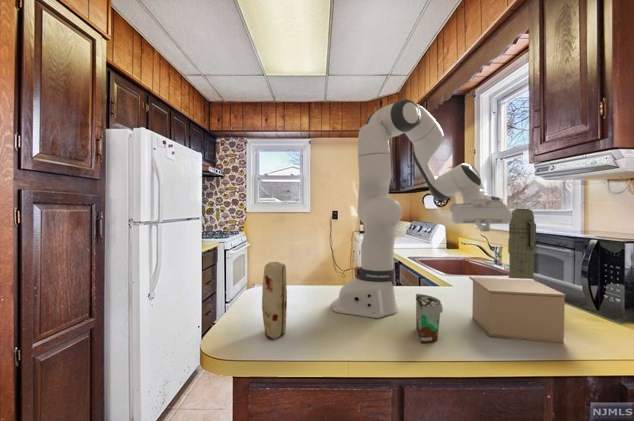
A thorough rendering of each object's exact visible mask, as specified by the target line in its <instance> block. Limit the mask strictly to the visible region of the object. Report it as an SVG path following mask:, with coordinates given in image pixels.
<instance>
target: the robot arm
mask: <svg viewBox="0 0 634 421" xmlns="http://www.w3.org/2000/svg"><path fill="white" fill-rule="evenodd" d="M402 134H405V135H406V137H407V139H409V141H411V143H412V145H413V151H412V158H413V161H414V162H415V165H416V167H417V168H418V171H419V173H420V174H421V177H423V179H424V181H425V183H426V185H427V187H428V189H429V191H430V194H431V196H432V198H434V200H438V201H441V202H444V201H447V200H449V199H450V198H452V197H453V196H456V195H457V194H459V193H460V195H461V198H462V203H452V204H451V205H449V210H450V212H451V219H452V222H453V223H454V224H455V225H456V224H462V225H463V224H466V225H467V224H468V225H469V224H470V225H475V226H476V228H478V229H479V231H480V233H481V232H489V233H490V231H491V225H492V224H494V225H500V224H501V225H503V224H505V225H509V223H510V221H511V219H512V212H511V210H510V208H509V206H508V205H507V204H506V203H504V199H503V198H502V197H501V196H500V197H499V196H497V195H496V196H494V195H490V194H488V193H486V192H485V187H484V185H483V183H482V177H481V176H480V174H479V172H478V170H477V169H476V168H475V167H474V166H473V165H472V164H468V163H461V164H458V165H456V166H455V167H453V168H452V169H450V170H448V171H446V172H444V173H443V174H440V175H437V176H436V175H435V173H434V171H433V168H432V167H431V166H430V164H429V162H430V160H431V158H432V157H433V156H434V155H435V154H436V152H437V151H438V149H439V148H440V147H441V145H442V142H443V139H444V132H443V129H442V127H441V125H440V124H439V123H438V122H437V121H436V119H435V118H434V117H433V115H431V113H430V112H428V110H426V109H425V108H424V107H423V106H421V104H418V103H416V102H415V101H414V100H412V99H406V98H403V99H400V100H396V102H393V103H391V104H390V103H389V104H388V105H385V106H383V107H381V108H379V109H378V110H376V111H375V112H373V113H371V114H370V115H369V116H368V118H367V119H366V121H365V124H364V125H363V126H362V127H361V128H360V129H359V131H358V136H357V162H358V163H357V164H358V166H357V167H358V192H357V193H358V195H357V210H356V212H357V217H358V218H359V220H360V222H361V223H362V224H364V231H363V232H364V233H363V238H362V241H361V245H360V266H358V265H356V266H354V269H353V270H354V278H352V279H351V280H350V281H348V282H347V283H345V284H344V285H343V286H342V287H341V288H340V290H339V294H338V298H335V299H334V300H333V301H332V303H331V305H332V306H331V309H332V310H333V311H334V312H335V313H339V314H345V315H346V314H348V315H354V316H361V317H367V318H374V319H375V318H376V319H380V318H382V317H385V316H389V315H390V316H391V315H393V314H396V313H397V312H398V310H399V308H398V305H397V300H396V295H395V283H396V281H395V280H396V271H395V268H394V256H395V255H394V253H395V252H394V250H395V241H396V236H397V231H398V228H399V227H398V226H399V223H400V222H401V220H402V217H403V209H402V206H401V204H400V203H399V202H398V200H396V199H394V198H392V196H391V197H390V196H389V193H390V192H389V191H390V184H391V181H392V177H393V175H392V173H393V172H392V158H391V148H390V139H391V138H395V137H398V136H400V135H402Z"/></svg>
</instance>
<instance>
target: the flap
mask: <svg viewBox="0 0 634 421" xmlns="http://www.w3.org/2000/svg"><path fill="white" fill-rule="evenodd" d="M469 279H470V280H471V281H472V282H473V281H474V282H475V283H477V284H478V285H479V286H481V287H482V288H483V289H485V290H486V291H488V292H489V293H502V294H521V295H539V296H557V297H565V298H566V295H567V294H565V293H563V292H561V291H558V290H556V289H554V288H551V287H550V286H547V285H546V284H544V283H541V282H538V281H536V280H535V279H534V278H533V279H534V280H533V279H520V278H508V277H494V276H474V275H473V276H470V275H469Z"/></svg>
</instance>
